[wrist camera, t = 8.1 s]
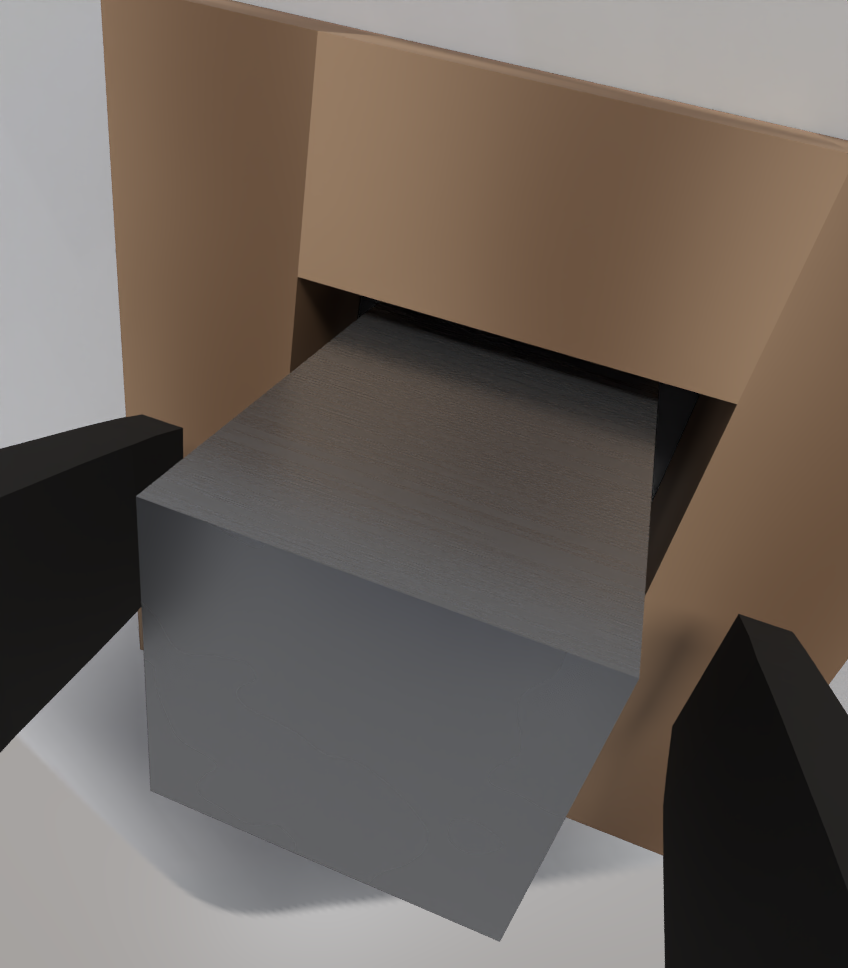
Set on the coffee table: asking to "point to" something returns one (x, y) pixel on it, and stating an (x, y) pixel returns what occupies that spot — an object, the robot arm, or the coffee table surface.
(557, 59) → the coffee table surface
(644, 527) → the peg
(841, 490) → the socket block
